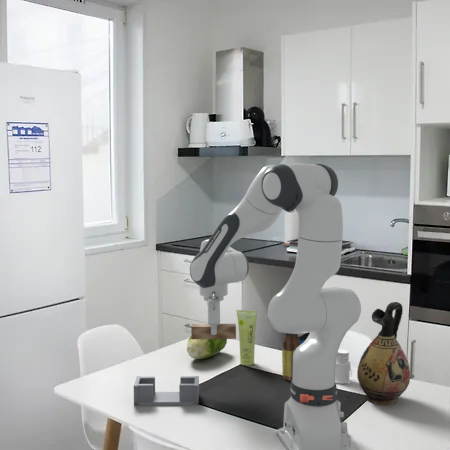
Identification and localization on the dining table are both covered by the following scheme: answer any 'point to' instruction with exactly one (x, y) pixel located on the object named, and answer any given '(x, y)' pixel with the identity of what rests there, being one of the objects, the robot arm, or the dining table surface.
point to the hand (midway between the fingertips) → (213, 332)
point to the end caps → (148, 396)
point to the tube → (247, 335)
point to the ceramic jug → (384, 360)
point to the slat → (205, 331)
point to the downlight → (342, 367)
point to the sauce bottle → (289, 354)
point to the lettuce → (204, 347)
